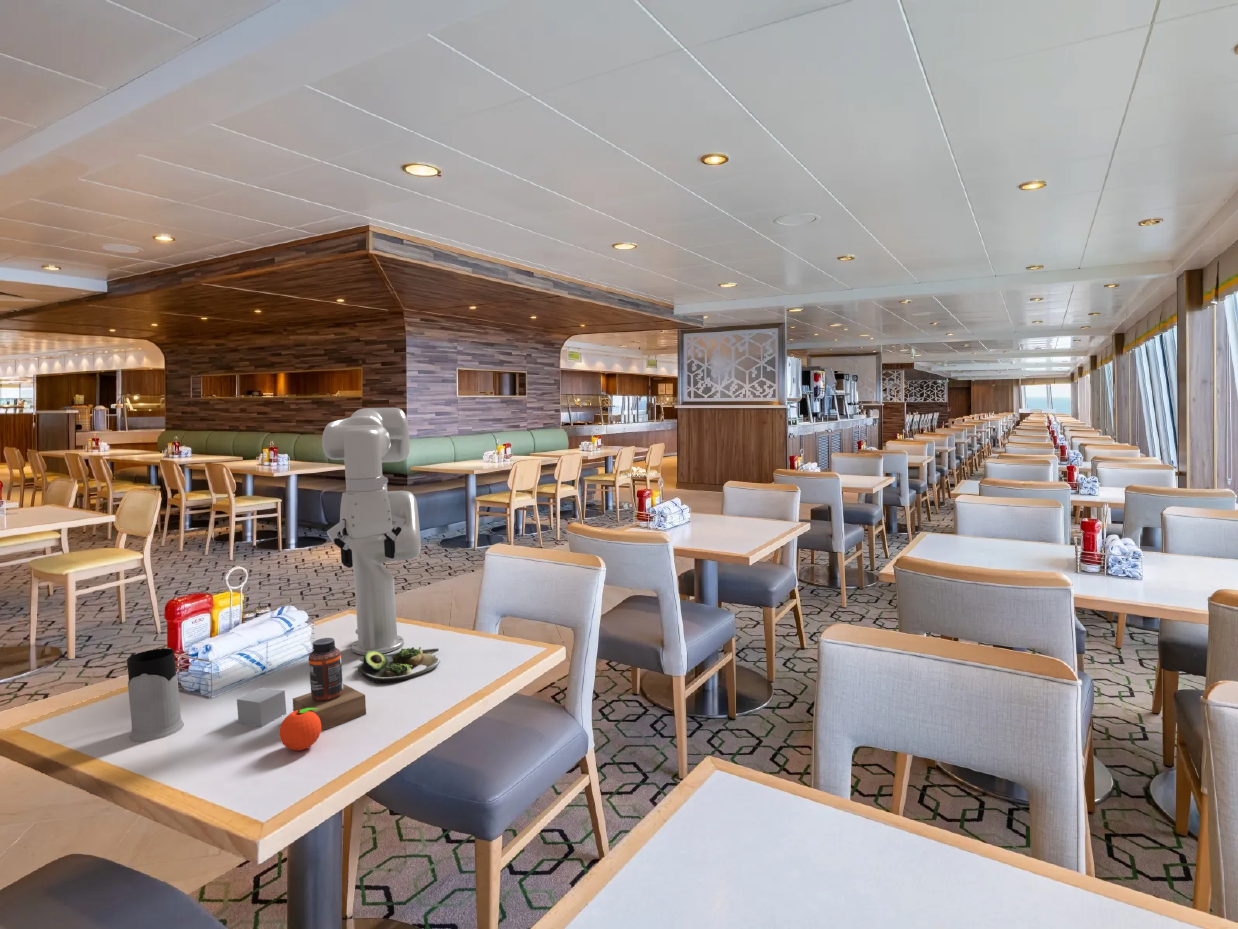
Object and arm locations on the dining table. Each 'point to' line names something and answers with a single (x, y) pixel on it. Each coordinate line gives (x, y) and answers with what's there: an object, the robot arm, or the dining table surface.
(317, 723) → the clementine
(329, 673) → the supplement bottle
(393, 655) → the salad plate
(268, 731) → the dining table surface
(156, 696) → the glass holder
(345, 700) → the walnut block
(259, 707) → the grey block
